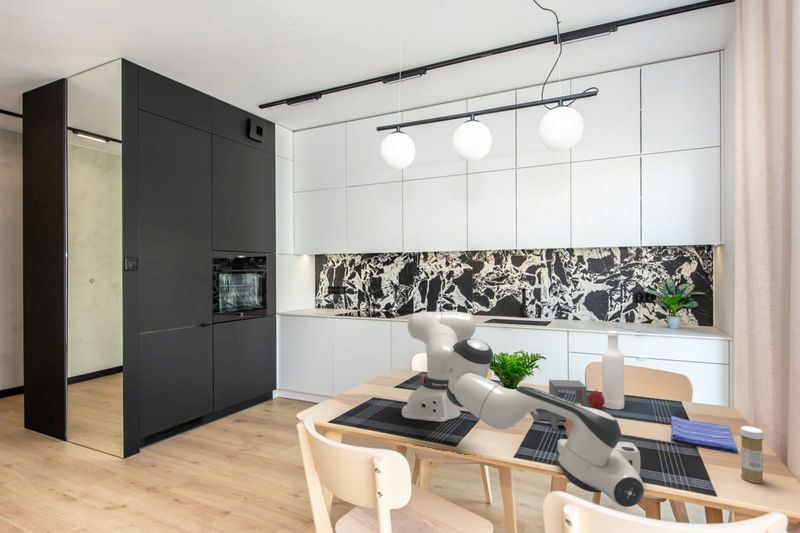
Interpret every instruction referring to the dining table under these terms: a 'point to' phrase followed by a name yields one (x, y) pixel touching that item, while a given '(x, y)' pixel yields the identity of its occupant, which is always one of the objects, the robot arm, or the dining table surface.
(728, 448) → the dish towel
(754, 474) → the sprinkles bottle
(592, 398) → the onion
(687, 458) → the dining table surface
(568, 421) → the orange rectangular block
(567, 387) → the tunnel
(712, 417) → the dining table surface
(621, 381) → the bottle
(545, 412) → the tray
